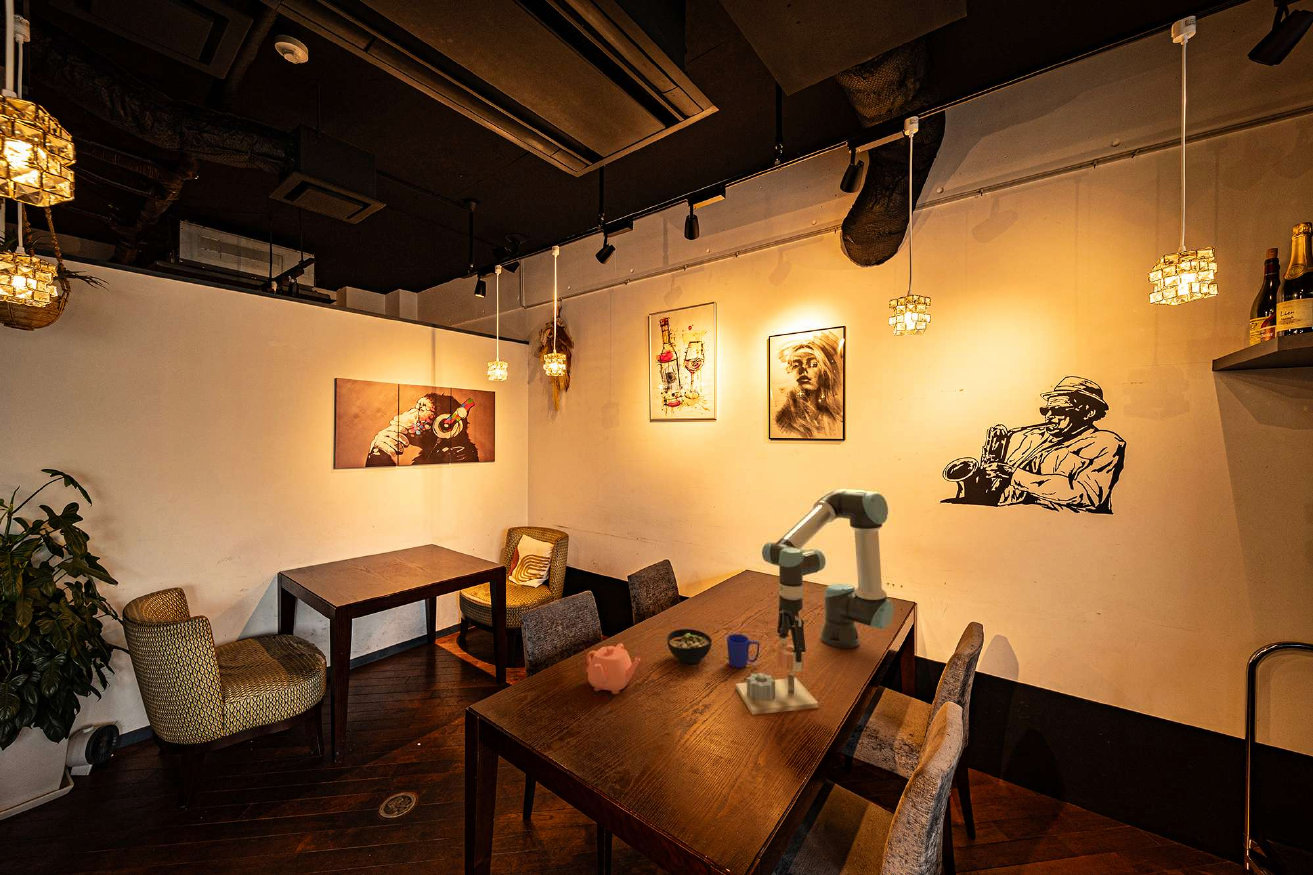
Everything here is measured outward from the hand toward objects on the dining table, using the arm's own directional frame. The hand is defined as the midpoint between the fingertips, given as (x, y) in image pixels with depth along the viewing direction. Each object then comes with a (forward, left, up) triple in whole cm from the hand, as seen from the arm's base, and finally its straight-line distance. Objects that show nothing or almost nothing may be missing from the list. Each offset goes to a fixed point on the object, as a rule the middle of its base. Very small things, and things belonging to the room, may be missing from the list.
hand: (790, 663), depth 161 cm
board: (+5, 0, -11) cm, 12 cm away
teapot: (+58, -16, -11) cm, 62 cm away
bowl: (+27, -30, -11) cm, 42 cm away
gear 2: (0, 0, 0) cm, 0 cm away
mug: (+8, -23, -11) cm, 27 cm away
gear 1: (+10, 0, -9) cm, 14 cm away
